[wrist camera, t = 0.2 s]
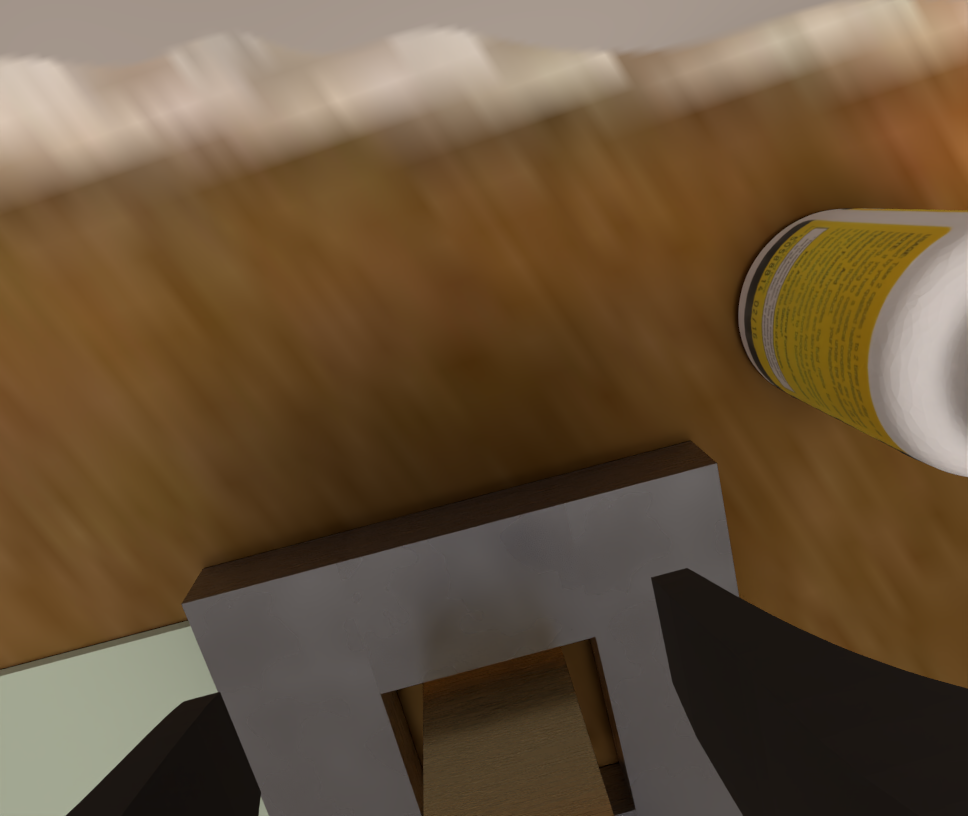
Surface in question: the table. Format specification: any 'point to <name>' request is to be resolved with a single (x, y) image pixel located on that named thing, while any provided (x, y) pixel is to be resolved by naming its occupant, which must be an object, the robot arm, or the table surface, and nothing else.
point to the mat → (90, 714)
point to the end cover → (509, 743)
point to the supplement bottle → (869, 324)
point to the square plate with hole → (467, 631)
